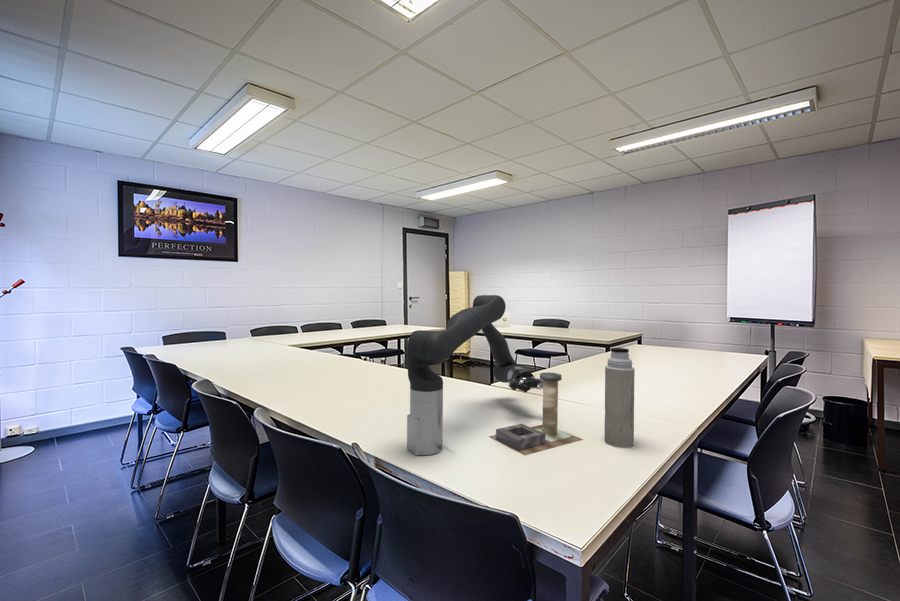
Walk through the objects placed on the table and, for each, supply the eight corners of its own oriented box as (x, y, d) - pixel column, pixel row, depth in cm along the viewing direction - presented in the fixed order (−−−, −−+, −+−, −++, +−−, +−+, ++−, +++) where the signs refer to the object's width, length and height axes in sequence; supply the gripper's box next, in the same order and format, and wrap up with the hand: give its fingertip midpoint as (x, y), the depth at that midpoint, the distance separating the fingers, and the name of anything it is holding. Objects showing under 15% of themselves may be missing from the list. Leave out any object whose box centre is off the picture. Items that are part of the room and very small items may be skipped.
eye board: (524, 459, 102) (524, 444, 102) (488, 439, 116) (488, 426, 116) (583, 442, 114) (583, 429, 114) (544, 427, 128) (544, 415, 128)
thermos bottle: (636, 441, 115) (637, 348, 115) (630, 449, 109) (631, 350, 109) (608, 435, 120) (609, 345, 120) (601, 443, 114) (602, 348, 114)
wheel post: (549, 438, 114) (550, 378, 113) (534, 431, 119) (535, 373, 119) (565, 434, 117) (566, 375, 116) (549, 427, 122) (550, 371, 122)
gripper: (502, 368, 141) (518, 378, 125) (538, 367, 144) (559, 376, 128) (502, 389, 141) (518, 401, 125) (538, 387, 144) (558, 399, 128)
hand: (538, 388), depth 126 cm, fingers open, 8 cm apart
